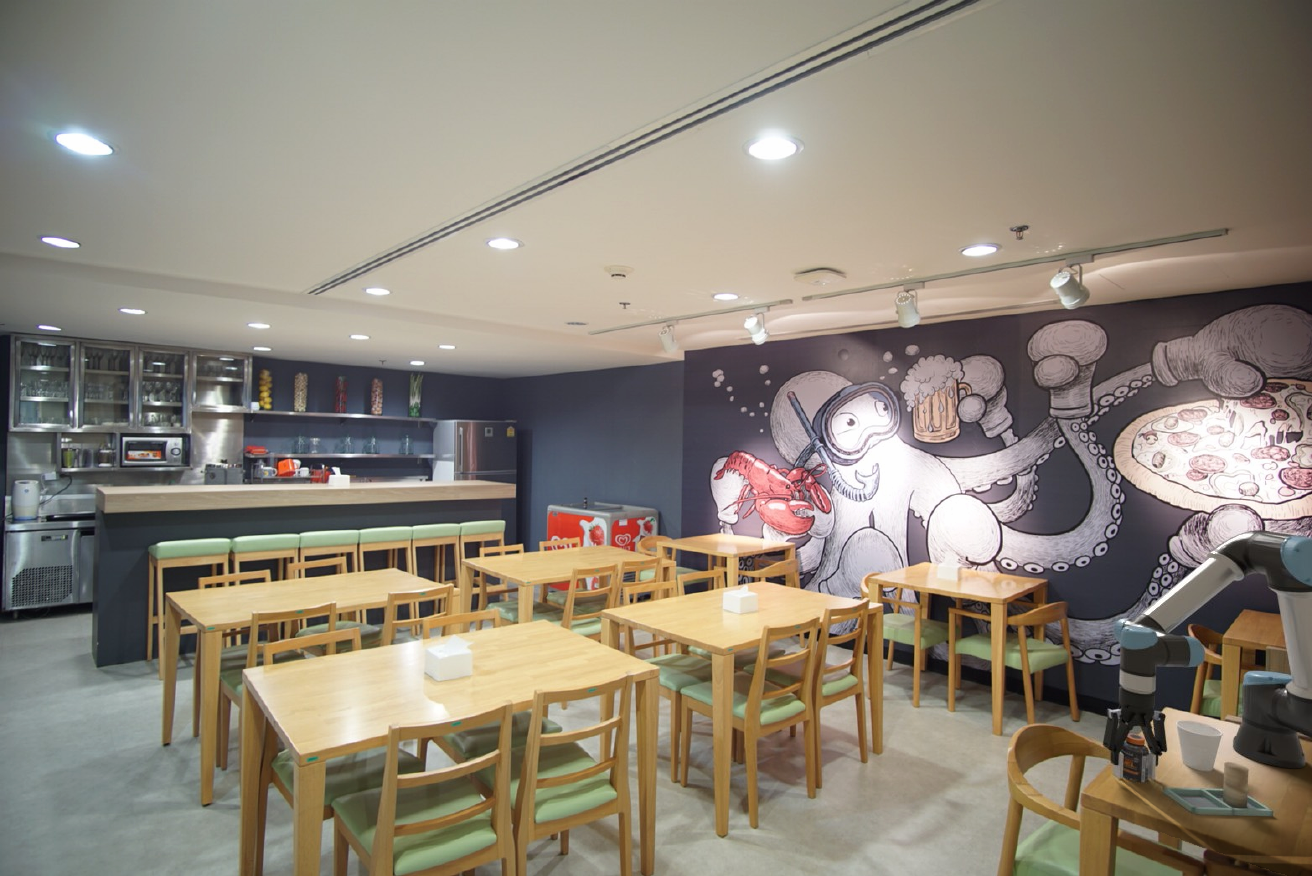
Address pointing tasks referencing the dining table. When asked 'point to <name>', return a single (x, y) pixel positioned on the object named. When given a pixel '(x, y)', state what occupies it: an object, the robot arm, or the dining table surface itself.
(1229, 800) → the beech dowel
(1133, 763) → the pill bottle
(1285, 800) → the dining table surface
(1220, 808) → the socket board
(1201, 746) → the cup
